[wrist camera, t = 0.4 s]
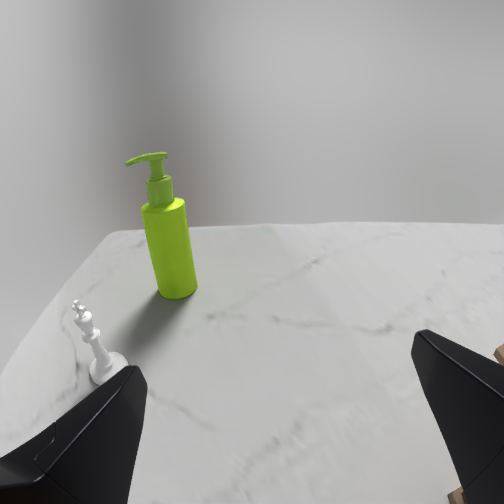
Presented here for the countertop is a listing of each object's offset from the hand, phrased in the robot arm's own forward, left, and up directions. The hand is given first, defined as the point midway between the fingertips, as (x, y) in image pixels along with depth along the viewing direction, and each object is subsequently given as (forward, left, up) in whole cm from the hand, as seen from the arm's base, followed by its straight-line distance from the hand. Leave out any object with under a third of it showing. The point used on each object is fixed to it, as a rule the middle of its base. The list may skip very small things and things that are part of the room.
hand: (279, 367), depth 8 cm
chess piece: (+15, +17, -18) cm, 28 cm away
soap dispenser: (+31, +11, -18) cm, 37 cm away
